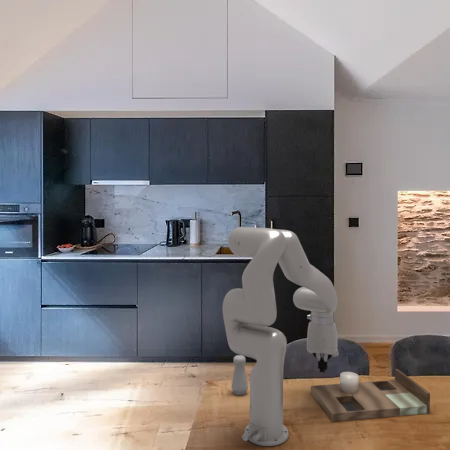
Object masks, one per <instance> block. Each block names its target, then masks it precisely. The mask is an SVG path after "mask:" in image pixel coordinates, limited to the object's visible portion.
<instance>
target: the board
mask: <svg viewBox="0 0 450 450" xmlns="http://www.w3.org/2000/svg"><path fill="white" fill-rule="evenodd" d="M310 394H311V396H313V398H314V400H315V401H316V402H317V403H318V404H319V406H320V407H321V408H322V410H323V411H324V412H325V415H326V416H327V417H328V418H329V420H330V421H331V422H344V421H353V420H354V421H355V420H367V419H376V418H391V417H401V416H402V417H403V416H404V417H405V416H411V415H412V416H413V415H414V416H415V415H426V414H430V412H431V411H430V410H431V408H430V407H431V393H430V392H429V391H428V390H426V389H425V388H424V387H423V386H421V385H420V384H418V382H416V381H414V380H413V379H412V378H410V377H409V376H408V375H406V374H405V373H404V372H403V371H401V370H400V369H398V368H394V379H388V380H386V379H385V380H374V381H361V382H360V381H358V392H357V393H345V392H343V391H341V390H340V383H334V384H333V383H332V384H331V383H330V384H322V385H321V384H320V385H319V384H318V385H311V386H310Z"/></svg>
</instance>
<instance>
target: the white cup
mask: <svg viewBox="0 0 450 450" xmlns="http://www.w3.org/2000/svg"><path fill="white" fill-rule="evenodd" d="M339 375H340V376H339V384H340V390H341V391H343V392H345V393H357V392H358V382H359V378H360V377H359V374H358V373H355V372H351V371H343V372H341V373H340V374H339Z"/></svg>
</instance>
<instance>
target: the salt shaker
mask: <svg viewBox="0 0 450 450" xmlns="http://www.w3.org/2000/svg"><path fill="white" fill-rule="evenodd" d="M246 362H247V361H246V356H243V355H240V354H236V355H235V356H233V365H234V369H233V375H232V381H231V389H232V393H233V394H234V395H236V396H244V395H246V393H247V391H248V389H249V385H248V384H249V383H248V381H247V373H246V368H245V367H246V366H245V364H246Z"/></svg>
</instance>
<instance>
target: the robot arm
mask: <svg viewBox="0 0 450 450" xmlns="http://www.w3.org/2000/svg"><path fill="white" fill-rule="evenodd" d="M227 240H228V241H227V242H228V248H229V250H230V251H231V253H233V254H234V255H235V256H237V257H245V258H251V260H250V261H249V262H248V264H247V265H246V266H245V268H244V271H243V273H242V276H241V284H242V288H238V287H237V288H232V289H230V290H229V291H227V293H226V294H225V296H224V298H223V301H222V316H223V323H224V328H225V335H226V339H227V343H228V346H229V348H230V350H231V351H232V352H233V353H234V354H236V355H242V356H244V357H248V358H251V359H253V360H255V361H256V362H255V365H254V366H253V367H252V369H251V370H250V374H249V423H248V424H247V425H246V426H245V428H244V433H242V435H241V438H242V440H243V441H244V442H247V441H249V442H250V443H251V444H254V445H258V446H262V447H273V446H279V445H282V444H283V443H285V442H286V441H287V440H288V438H289V430H288V428H287V426H286V425H284V366H285V365H284V363H285V357H286V353H287V346H288V345H287V343H288V342H287V341H288V340H287V337H286V336H285V334H284V333H283V332H282V331H280V330H279V329H277V328H274V327H271V325H272V326H273V324H274V323H275V322H276V320H277V313H278V311H277V301H276V293H275V287H274V273H275V270H276V267H277V266H278V265H279V267H280V269H281V271H282V272H283V274H284V277H286V279H287V280H289V281H290V282H292V283H294V284H296V285H298V286H301V287H299V288H297V289H296V290H295V292H294V293H293V295H292V296H293V297H292V301H293V304H294V306H295V307H296V308H297V309H300V310H304V311H310V314H307V315H306V316H307V317H306V319H307V320H310V321H309V322H308V326H307V335H306V336H307V338H306V349H307V350H306V353H307V354H309V355H313V357H315V358H316V361H317V369H319V373H323V374H325V372H326V371H327V370H328V361H329V360H330V359H331V358H335V357H339V338H338V330H337V324H336V323H335V321H334V319H335V318H334V316H335V313H334V312H335V311H336V310H337V308H338V304H339V303H338V302H339V300H338V295H337V291H336V289H335V287H334V285H333V282H332V281H331V279H330V278H329V277H328V276H326V275H325V274H324V273H323V272H321V271H320V270H319V269H318V268H316V267H315V266H314V265H312V264H311V263H310V261H309V260H308V257H307V254H306V252H305V251H304V249H303V246H302V244H301V241H300V240H299V237H298V236H297V234H296V233H295V232H293V231H291V230H287V229H276V228H270V227H268V228H267V227H251V226H249V227H248V226H238V227H236V228H234V229H233V230H231V232H230V234H229V237H228V239H227ZM277 264H278V265H277Z"/></svg>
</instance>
